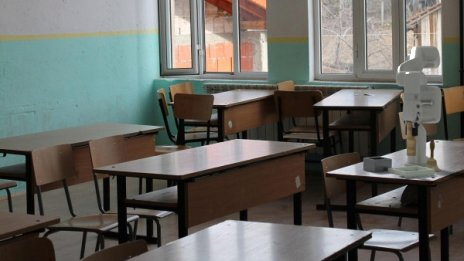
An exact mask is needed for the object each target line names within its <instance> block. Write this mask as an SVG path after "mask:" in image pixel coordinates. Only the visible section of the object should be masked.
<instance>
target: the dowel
mask: <svg viewBox="0 0 464 261" xmlns="http://www.w3.org/2000/svg"><path fill="white" fill-rule="evenodd" d="M412 128H413V125H412V122H407V135H406V156H416V136H412Z"/></svg>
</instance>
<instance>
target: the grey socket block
mask: <svg viewBox="0 0 464 261" xmlns="http://www.w3.org/2000/svg"><path fill="white" fill-rule="evenodd" d="M362 160H363V164H362V166H363V168H362V169H363V171H366V172H371V173H385V172H387V173H389V172H388V168H393V158H390V157H389V158H388V157H384V156H371V157H370V156H369V157H363V158H362Z"/></svg>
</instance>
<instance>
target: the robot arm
mask: <svg viewBox="0 0 464 261" xmlns="http://www.w3.org/2000/svg"><path fill="white" fill-rule="evenodd" d="M439 66H441V56H440V51H439V49H438V48H437V47H436V46H433V45H417V46H413V47H412V48H410V50H409V53H408V54H407V55H406V57H405V61H404V62H402V63H401V64H399V65H398V67H397V70H396V73H395V82H396V85H397V86H398V87H403V90H404V91H403V93H404V94H403V106H402V119H401V120H402V122H403V124H404V127H405V136H407V122H412V125H413V128H412V136H416V156H407V155H406V156H407V158H406V161H404V163H403V165H404V166H405V167H406V166H421V167H426V165H427V160H429V159H430V156H427V131H426V128H425V127H424V126H423V125H422V124H437V123H439V122H440V120H441V117H442V91H441V88H440V87H439V86H436V85H428V76H426V74H425V72H424V71H423V70H425V69H431V70H432V69H434V70H435V69H438V68H439Z"/></svg>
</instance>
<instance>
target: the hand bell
mask: <svg viewBox="0 0 464 261" xmlns="http://www.w3.org/2000/svg"><path fill="white" fill-rule="evenodd" d="M435 149H436V142H435V139H434V138H431V139H430V141H429V151H430V156H429V157H430V159H429V160H427V165H426V166H425V167H426V168H430V169H435V173H436V172H441V169H440V167H439V166H438V163H437V162H438V161H437V159H435V157H434V156H435V152H434V151H435Z"/></svg>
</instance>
